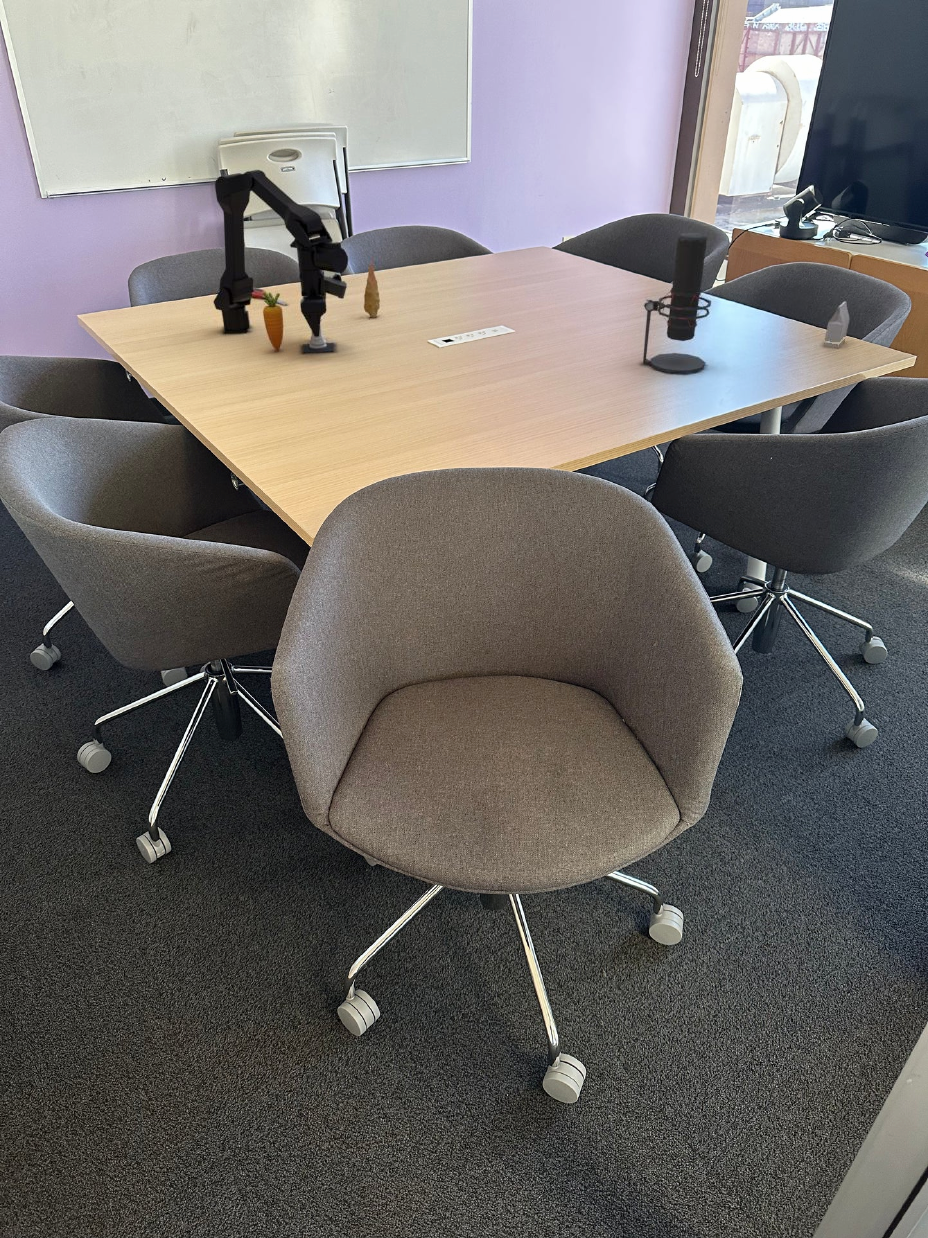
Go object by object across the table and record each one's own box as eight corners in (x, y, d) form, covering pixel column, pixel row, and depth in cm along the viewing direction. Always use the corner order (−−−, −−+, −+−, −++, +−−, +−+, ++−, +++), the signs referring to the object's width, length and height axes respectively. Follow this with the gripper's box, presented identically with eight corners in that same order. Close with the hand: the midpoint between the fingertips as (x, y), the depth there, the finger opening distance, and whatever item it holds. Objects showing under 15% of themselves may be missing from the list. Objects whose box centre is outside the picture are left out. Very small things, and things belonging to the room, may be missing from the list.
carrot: (290, 348, 235) (283, 289, 226) (281, 354, 231) (274, 294, 222) (273, 347, 236) (266, 287, 228) (264, 352, 232) (256, 292, 224)
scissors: (285, 305, 270) (284, 300, 269) (234, 296, 279) (233, 291, 279) (302, 299, 275) (301, 294, 275) (251, 291, 285) (251, 286, 284)
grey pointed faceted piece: (844, 341, 235) (853, 302, 229) (838, 348, 230) (846, 308, 224) (830, 339, 236) (838, 300, 231) (823, 346, 232) (831, 306, 226)
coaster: (302, 353, 231) (302, 352, 231) (303, 345, 237) (303, 344, 237) (334, 352, 232) (333, 350, 232) (333, 344, 238) (333, 342, 238)
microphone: (668, 378, 213) (684, 243, 196) (634, 362, 222) (646, 232, 206) (716, 368, 218) (735, 236, 201) (680, 353, 228) (696, 226, 211)
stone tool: (369, 320, 256) (366, 264, 248) (364, 318, 257) (360, 263, 249) (382, 316, 259) (378, 261, 251) (376, 314, 261) (372, 260, 252)
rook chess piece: (330, 345, 235) (327, 314, 231) (320, 350, 232) (317, 319, 227) (315, 343, 237) (312, 312, 232) (306, 348, 233) (302, 317, 229)
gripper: (344, 275, 216) (349, 340, 225) (342, 258, 232) (347, 319, 240) (297, 277, 215) (304, 342, 224) (298, 259, 231) (305, 321, 239)
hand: (317, 331), depth 232 cm, fingers open, 9 cm apart
